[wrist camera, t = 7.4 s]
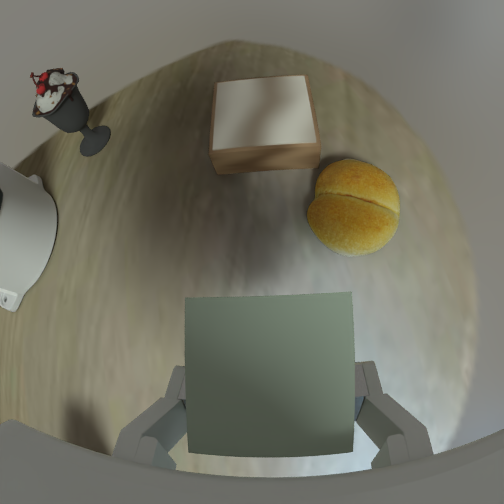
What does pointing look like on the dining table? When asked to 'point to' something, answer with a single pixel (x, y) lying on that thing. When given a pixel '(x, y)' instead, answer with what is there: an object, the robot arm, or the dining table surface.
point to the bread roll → (354, 208)
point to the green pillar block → (270, 375)
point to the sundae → (67, 108)
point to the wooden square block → (263, 125)
